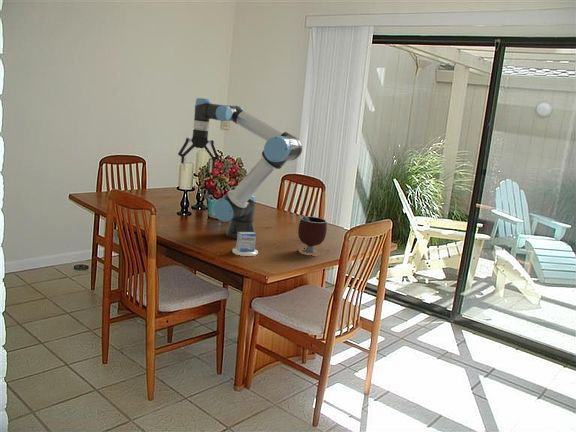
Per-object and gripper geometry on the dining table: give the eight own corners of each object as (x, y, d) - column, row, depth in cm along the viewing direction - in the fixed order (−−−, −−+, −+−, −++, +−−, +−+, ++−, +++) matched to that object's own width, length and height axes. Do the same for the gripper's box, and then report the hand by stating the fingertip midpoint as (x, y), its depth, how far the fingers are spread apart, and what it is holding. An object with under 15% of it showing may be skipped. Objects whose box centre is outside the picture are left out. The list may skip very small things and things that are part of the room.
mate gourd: (309, 247, 288) (314, 209, 284) (328, 255, 278) (334, 216, 274) (287, 250, 278) (292, 211, 273) (307, 258, 268) (312, 218, 264)
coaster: (254, 249, 272) (255, 247, 271) (259, 257, 260) (260, 254, 260) (230, 248, 268) (230, 246, 268) (234, 256, 257) (234, 253, 257)
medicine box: (239, 251, 260) (241, 234, 259) (235, 249, 264) (237, 231, 262) (254, 251, 264) (256, 233, 262) (250, 248, 268) (252, 231, 266)
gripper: (176, 127, 273) (172, 170, 278) (226, 132, 280) (222, 174, 284) (175, 126, 280) (171, 168, 285) (224, 131, 287) (220, 172, 292)
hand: (197, 171), depth 285 cm, fingers open, 13 cm apart
